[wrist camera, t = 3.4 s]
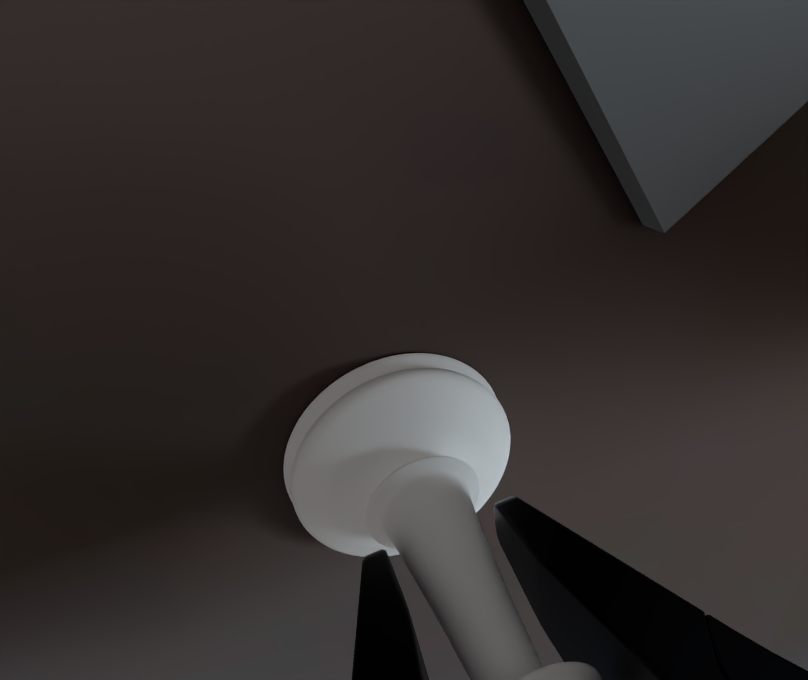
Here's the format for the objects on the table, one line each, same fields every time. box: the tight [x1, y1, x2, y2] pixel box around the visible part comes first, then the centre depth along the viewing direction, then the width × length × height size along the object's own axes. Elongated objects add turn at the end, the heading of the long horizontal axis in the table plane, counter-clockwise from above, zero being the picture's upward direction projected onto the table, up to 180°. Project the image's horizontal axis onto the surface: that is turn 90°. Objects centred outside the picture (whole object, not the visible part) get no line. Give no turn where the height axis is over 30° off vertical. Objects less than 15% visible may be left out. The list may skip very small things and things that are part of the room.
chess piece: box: [283, 353, 602, 680], centre depth 7 cm, size 5×5×10 cm
